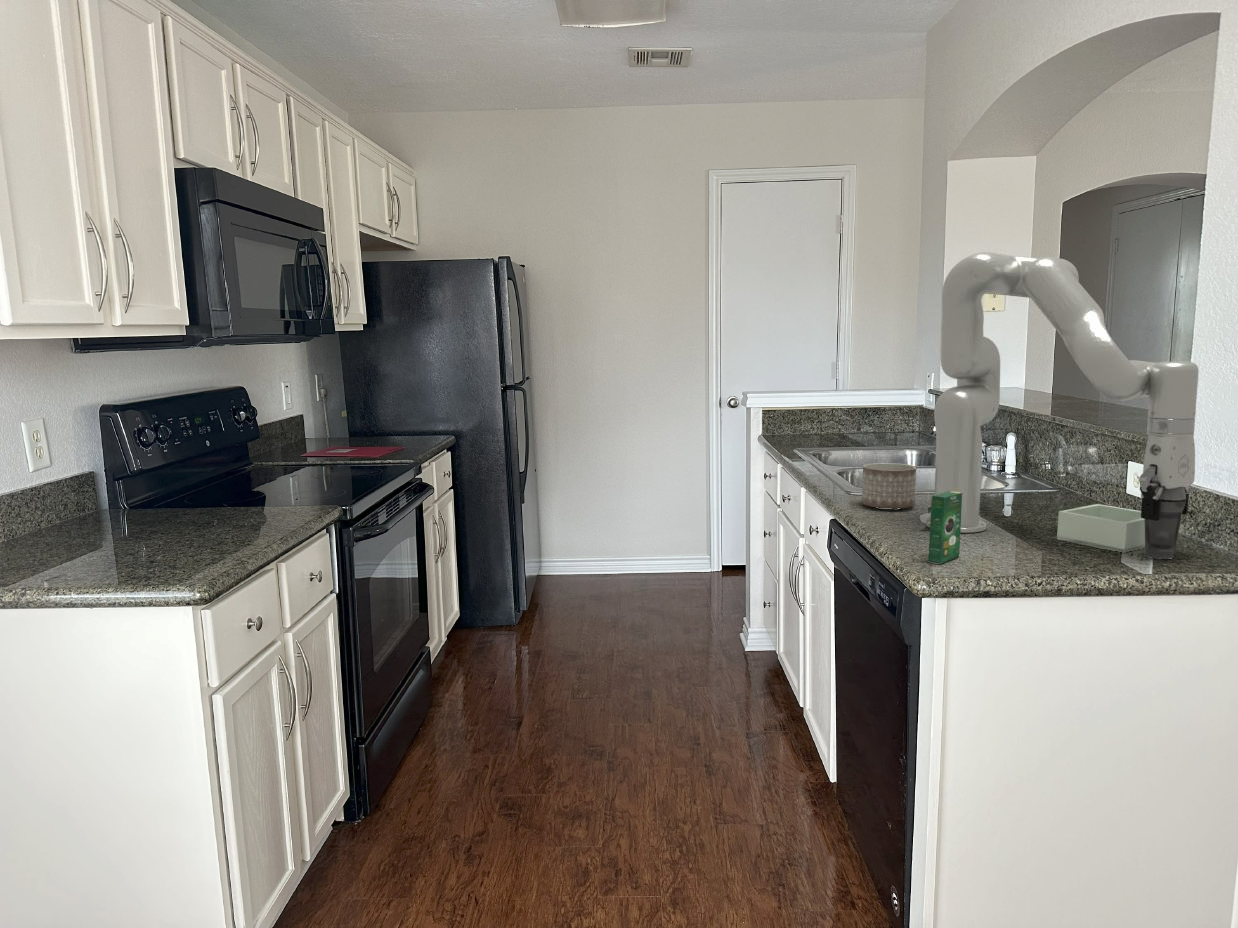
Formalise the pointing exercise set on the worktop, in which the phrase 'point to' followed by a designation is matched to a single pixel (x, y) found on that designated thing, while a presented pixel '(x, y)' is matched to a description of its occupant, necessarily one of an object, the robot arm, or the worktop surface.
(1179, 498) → the beverage cup
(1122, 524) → the walled box
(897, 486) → the planter
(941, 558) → the green upright box
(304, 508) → the worktop surface
